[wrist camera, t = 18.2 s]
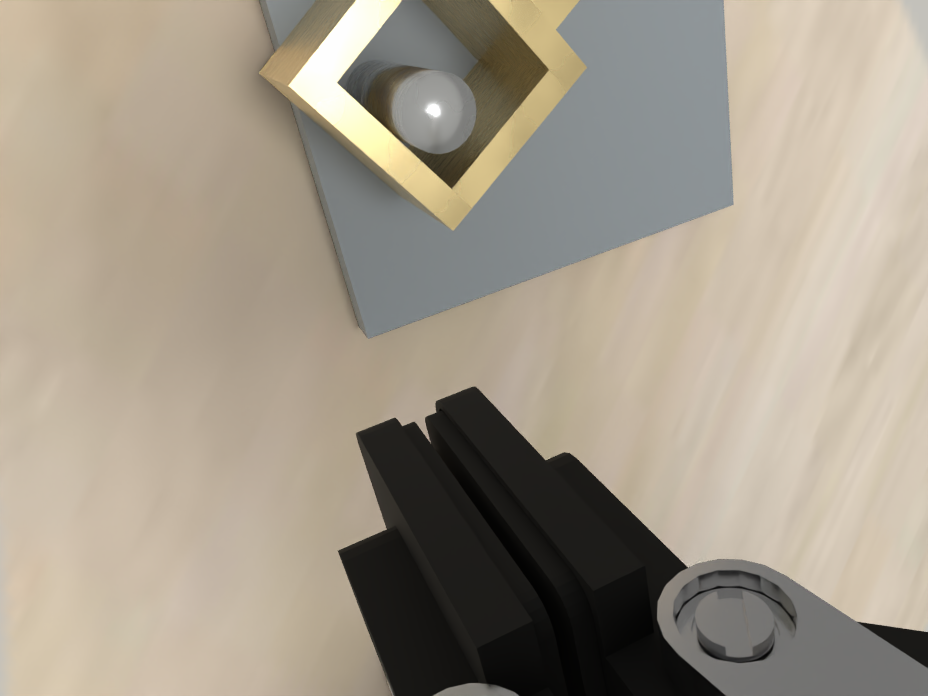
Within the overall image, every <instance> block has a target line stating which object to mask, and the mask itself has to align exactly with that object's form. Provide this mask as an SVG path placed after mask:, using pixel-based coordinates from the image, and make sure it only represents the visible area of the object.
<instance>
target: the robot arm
mask: <svg viewBox="0 0 928 696" xmlns="http://www.w3.org/2000/svg"><path fill="white" fill-rule="evenodd" d="M436 412H437V413H434V414H432V415H429V416H427V417H426V418H425V422H426V427H427V430H428V434H429V438H430V441H431V443H430V442H429V441H428V439H427V438H426V436H425V435H424V434H423V432H422V431H421V429H420V428H419V427H418V425H417V424H416V423H415V422H412V423H410V424H407V425H405V426H401V424H400V423H399V421H398V420H397V419H396V418H393V419H390V420H388V421H385V422H383V423H380V424H378V425H375V426H373V427H370V428H368V429H365V430H363V431H360V432H357V433H356V436H357V440H358V444H359V447H360V450H361V453H362V456H363V459H364V462H365V465H366V468H367V471H368V474H369V477H370V480H371V483H372V486H373V489H374V492H375V495H376V498H377V501H378V504H379V507H380V510H381V513H382V516H383V519H384V522H385V525H386V528H387V530H385V531H382V532H380V533H378V534H375V535H373V536H371V537H369V538H366V539H364V540H362V541H359V542H357V543H355V544H352V545H350V546H348V547H346V548H343V549H341V550H339V551H338V552H339V555H340V558H341V560H342V563H343V566H344V568H345V571H346V574H347V576H348V579H349V582H350V584H351V587H352V590H353V592H354V595H355V597H356V600H357V603H358V605H359V608H360V611H361V613H362V616H363V618H364V621H365V624H366V626H367V629H368V631H369V634H370V637H371V639H372V642H373V644H374V647H375V649H376V652H377V655H378V657H379V660H380V662H381V665H382V667H383V670H384V672H385V675H386V680H387V684H388V686H389V689H390V691H391V693H392V696H928V632H923V631H916V630H909V629H902V628H896V627H889V626H882V625H875V624H868V623H861V622H856V621H854V620H853V619H851V618H850V617H848V616H847V615H845V614H844V613H842V612H841V611H839V610H838V609H836V608H835V607H833V606H831V605H830V604H828V603H827V602H825V601H824V600H822V599H821V598H819V597H818V596H816V595H815V594H813V593H812V592H810V591H808V590H807V589H805V588H804V587H802V586H801V585H799V584H798V583H796V582H795V581H793V580H792V579H790V578H789V577H787V576H785V575H784V574H781V573H779V572H777V571H775V570H773V569H771V568H769V567H767V566H765V565H762V564H758V563H754V562H749V561H745V560H734V559H717V560H712V561H707V562H703V563H698V564H695V565H693V566H691V567H689V568H688V567H687V566H686V565H685V564H684V563H683V562H682V561H681V560H680V559H679V558H678V557H676V556H675V555H674V554H673V553H672V552H671V551H670V550H669V549H668V548H667V547H666V546H665V545H664V544H663V543H662V542H661V541H660V540H659V539H658V538H657V537H656V536H655V535H654V534H653V533H652V532H651V531H650V530H649V529H648V528H647V527H646V526H645V525H644V524H643V523H642V522H641V521H640V520H639V519H638V518H637V517H636V516H635V515H634V514H633V513H632V512H631V511H630V510H629V509H628V508H627V507H626V506H625V505H624V504H622V503H621V502H620V501H619V500H618V499H617V498H616V497H615V496H614V495H613V494H612V493H611V492H610V491H609V490H608V489H607V488H606V487H605V486H604V485H603V484H602V483H601V482H600V481H599V480H598V479H597V478H596V477H595V476H594V475H593V474H592V473H591V472H590V471H589V470H588V469H587V468H586V467H585V466H584V465H583V464H582V463H581V462H580V461H579V460H578V459H577V458H575V457H574V456H573V455H571V454H570V453H565V452H564V453H562V454H559V455H557V456H555V457H553V458H550V459H548V460H545V459H544V458H543V457H542V456H541V455H540V454H539V453H538V452H537V451H536V450H535V449H534V448H533V447H532V445H531V444H530V443H529V442H528V441H527V440H526V439H525V438H524V437H523V436H522V435H521V434H520V433H519V432H518V431H517V430H516V429H515V427H514V426H513V425H512V424H511V423H510V422H509V421H508V420H507V419H506V418H505V417H504V416H503V415H502V414H501V413H500V412H499V411H498V409H497V408H496V407H495V406H494V405H493V404H492V403H491V402H490V401H489V400H488V399H487V398H486V397H485V396H484V395H483V394H482V393H481V391H480V390H479V389H477V388H476V387H471V388H468V389H466V390H463V391H461V392H458V393H456V394H453V395H451V396H448V397H445V398H443V399H440V400H438V401H436Z"/></svg>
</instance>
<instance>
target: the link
mask: <svg viewBox="0 0 928 696" xmlns="http://www.w3.org/2000/svg"><path fill="white" fill-rule="evenodd" d="M401 1H402V0H316V1H315V2H314V4H313V5H312V6H311V7H310V9H309V10H308V11H307V12H306V14H305V15H304V16H303V18H302V19H301V20H300V21H299V23H298V24H297V25H296V26H295V28H294V29H293V30H292V31H291V33H290V34H289V35H288V37H287V38H286V39H285V40H284V42H283V43H282V44H281V45H280V47H279V48H278V49H277V50H276V52H275V53H274V54H273V55H272V57H271V58H270V59H269V61H268V62H267V63H266V64H265V66H264V67H263V68H262V69H261V71H260V72H259V74H260V75H261V76H263V77H264V78H265V79H266V80H267V81H268V82H269V83H271V84H272V85H273V86H274V87H275V88H276V89H277V90H279V91H280V92H281V93H282V94H283V95H284V96H285V97H287V98H288V99H289V100H290V101H291V102H292V103H294V104H295V105H296V106H297V107H298V108H299V109H300V110H302V111H303V112H304V113H305V114H306V115H307V116H308V117H310V118H311V119H312V120H313V121H314V122H315V123H316V124H318V125H319V126H320V127H321V128H322V129H323V130H325V131H326V132H327V133H328V134H329V135H330V136H331V137H333V138H334V139H335V140H336V141H337V142H338V143H339V144H341V145H342V146H343V147H344V148H345V149H346V150H347V151H349V152H350V153H351V154H352V155H353V156H354V157H356V158H357V159H358V160H359V161H360V162H361V163H362V164H364V165H365V166H366V167H367V168H368V169H369V170H370V171H372V172H373V173H374V174H375V175H376V176H377V177H378V178H380V179H381V180H382V181H383V182H384V183H385V184H387V185H388V186H389V187H390V188H391V189H392V190H393V191H395V192H396V193H397V194H398V195H399V196H400V197H402V198H404V199H405V200H407V201H408V202H410V203H411V204H413V205H414V206H416V207H417V208H419V209H420V210H422V211H423V212H425V213H426V214H428V215H429V216H431V217H433V218H434V219H436V220H437V221H439V222H440V223H442V224H443V225H445V226H446V227H448V228H449V229H451V230H452V231H454V230H455V228H456V227H457V226H458V225H459V224H460V222H461V221H462V220H463V219H464V217H465V216H466V215H467V214H468V213H469V211H470V210H471V209H472V208H473V206H474V205H475V204H476V203H477V202H478V200H479V199H480V198H481V197H482V195H483V194H484V193H485V192H486V191H487V189H488V188H489V187H490V186H491V184H492V183H493V182H494V181H495V180H496V178H497V177H498V176H499V175H500V173H501V172H502V171H503V170H504V169H505V167H506V166H507V165H508V164H509V162H510V161H511V160H512V159H513V158H514V156H515V155H516V154H517V153H518V151H519V150H520V149H521V148H522V147H523V145H524V144H525V143H526V142H527V140H528V139H529V138H530V137H531V136H532V134H533V133H534V132H535V131H536V129H537V128H538V127H539V126H540V125H541V123H542V122H543V121H544V120H545V118H546V117H547V116H548V115H549V114H550V112H551V111H552V110H553V109H554V107H555V106H556V105H557V104H558V103H559V101H560V100H561V99H562V98H563V96H564V95H565V94H566V93H567V92H568V90H569V89H570V88H571V87H572V85H573V84H574V83H575V82H576V81H577V79H578V78H579V77H580V76H581V74H582V73H583V72H584V71H585V70H586V68H587V67H586V65H585V64H584V63H583V62H582V61H581V59H580V58H579V57H578V56H577V55H576V53H575V52H574V51H573V50H572V49H571V47H570V46H569V45H568V44H567V43H566V41H565V40H564V39H563V38H562V37H561V35H560V34H559V33H558V32H557V31H556V29H557V28H558V26H559V25H560V24H561V23H562V21H563V20H564V19H565V18H566V17H567V15H568V14H569V13H570V12H571V10H572V9H573V8H574V7H575V5H576V4H577V3H578V2H579V1H580V0H422V1H423V2H424V3H425V4H426V5H427V6H428V8H429V9H430V10H431V11H432V12H433V13H434V14H435V15H436V16H437V17H438V18H439V19H440V20H441V22H442V23H443V24H444V25H445V26H446V27H447V28H448V29H449V30H450V31H451V32H452V33H453V34H454V36H455V37H456V38H457V39H458V40H459V41H460V42H461V43H462V44H463V45H464V46H465V47H466V48H467V49H468V51H469V52H470V53H471V54H472V55H473V56H474V57H475V58H476V59H477V60H478V62H477V63H476V64H475V65H474V67H473V68H472V69H471V70H470V72H469V73H468V74H467V75H466V77H465V78H464V79H463V81H464V82H465V83H466V84H467V85H468V87H469V88H470V90H471V91H472V93H473V96H474V99H475V103H476V120H475V125H474V127H473V130H472V132H471V134H470V136H469V137H468V139H467V140H466V141H465V142H464V143H463V144H462V145H461V146H460V147H458V148H457V149H455V150H453V151H451V152H448V153H444V154H433V153H428V152H426V151H423V150H421V149H419V148H417V147H414V146H412V145H410V146H409V147H408V148H407V147H405V146H404V145H403V144H402V143H401V142H400V141H399V140H398V139H397V138H396V137H395V136H394V135H392V134H391V133H390V132H389V131H388V130H387V129H386V128H385V127H384V126H383V125H382V124H381V123H379V122H378V121H377V120H376V119H375V118H374V117H373V116H372V115H371V114H370V113H369V112H368V111H366V110H365V109H364V108H363V107H362V106H361V105H360V104H359V103H358V102H357V101H356V100H355V99H353V98H352V97H351V96H350V95H349V94H348V93H347V92H346V91H345V90H344V89H343V88H342V87H340V86H339V85H338V84H337V81H338V80H339V79H340V78H341V76H342V75H343V74H344V73H345V71H346V70H347V69H348V68H349V66H350V65H351V64H352V63H353V61H354V60H355V59H356V58H357V56H358V55H359V54H360V53H361V51H362V50H363V49H364V48H365V46H366V45H367V44H368V43H369V41H370V40H371V39H372V38H373V36H374V35H375V34H376V33H377V31H378V30H379V29H380V28H381V26H382V25H383V24H384V23H385V21H386V20H387V19H388V18H389V16H390V15H391V14H392V13H393V11H394V10H395V9H396V7H397V6H398V5H399V4H400V2H401Z"/></svg>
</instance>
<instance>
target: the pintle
mask: <svg viewBox="0 0 928 696" xmlns="http://www.w3.org/2000/svg"><path fill="white" fill-rule="evenodd" d="M345 91H346V92H347V93H348V94H349V95H350V96H351V97H352V98H353V99H355V100H356V101H357V102H358V103H359V104H360V105H361V106H362V107H363V108H364V109H365V110H366V111H368V112H369V113H370V114H371V115H372V116H373V117H374V118H375V119H376V120H377V121H378V122H379V123H381V124H382V125H383V126H384V127H385V128H386V129H387V130H388V131H389V132H390V133H391V134H392V135H394V136H395V137H396V138H397V139H399V140H401V141H403V142H405V143H408V144H410V145H412V146H414V147H417V148H419V149H421V150H423V151H426V152H428V153H433V154H444V153H448V152H451V151H453V150H455V149H457V148H458V147H460V146H461V145H462V144H463V143H464V142H465V141H466V140H467V139H468V137H469V136H470V134H471V132H472V130H473V127H474V125H475V120H476V103H475V99H474V96H473V93H472V91H471V90H470V88H469V87H468V85H467V84H466V83H465V82H464V81H463V80H462V79H461V78H459V77H458V76H456V75H454V74H452V73H448V72H443V71H438V70H432V69H426V68H420V67H414V66H408V65H402V64H397V63H391V62H385V61H378V60H372V61H367V62H364V63H362V64H361V65H359V66H358V67H356V68H355V69H354V70H353V72H352V73H351V75H350V76H349V78H348V80H347V84H346V89H345Z"/></svg>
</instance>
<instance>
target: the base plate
mask: <svg viewBox="0 0 928 696" xmlns="http://www.w3.org/2000/svg"><path fill="white" fill-rule="evenodd" d="M259 1H260V5H261V8H262V11H263V14H264V18H265V21H266V24H267V27H268V31H269V34H270V37H271V41H272V44H273V47H274V50H275V52H276V50H277V49H278V48H279V47H280V45H281V44H282V43H283V42H284V40H285V39H286V38H287V37H288V35H289V34H290V33H291V31H292V30H293V29H294V28H295V26H296V25H297V24H298V23H299V21H300V20H301V19H302V18H303V16H304V15H305V14H306V12H307V11H308V10H309V9H310V7H311V6H312V5H313V4H314V2H315V1H316V0H259ZM556 31H557V32H558V33H559V34H560V35H561V37H562V38H563V39H564V40H565V41H566V43H567V44H568V45H569V46H570V47H571V49H572V50H573V51H574V52H575V53H576V55H577V56H578V57H579V58H580V59H581V61H582V62H583V63H584V64H585V65H586V67H587V68H586V70H585V71H584V72H583V73H582V74H581V76H580V77H579V78H578V79H577V81H576V82H575V83H574V84H573V85H572V87H571V88H570V89H569V90H568V92H567V93H566V94H565V95H564V96H563V98H562V99H561V100H560V101H559V103H558V104H557V105H556V106H555V107H554V109H553V110H552V111H551V112H550V114H549V115H548V116H547V117H546V118H545V120H544V121H543V122H542V123H541V125H540V126H539V127H538V128H537V129H536V131H535V132H534V133H533V134H532V136H531V137H530V138H529V139H528V140H527V142H526V143H525V144H524V145H523V147H522V148H521V149H520V150H519V151H518V153H517V154H516V155H515V156H514V158H513V159H512V160H511V161H510V162H509V164H508V165H507V166H506V167H505V169H504V170H503V171H502V172H501V173H500V175H499V176H498V177H497V178H496V180H495V181H494V182H493V183H492V184H491V186H490V187H489V188H488V189H487V191H486V192H485V193H484V194H483V195H482V197H481V198H480V199H479V200H478V202H477V203H476V204H475V205H474V206H473V208H472V209H471V210H470V211H469V213H468V214H467V215H466V216H465V217H464V219H463V220H462V221H461V222H460V224H459V225H458V226H457V227H456V228H455V230H454V231H452V230H451V229H449V228H448V227H446V226H445V225H443V224H442V223H440V222H439V221H437V220H436V219H434V218H433V217H431V216H429V215H428V214H426V213H425V212H423V211H422V210H420V209H419V208H417V207H416V206H414V205H413V204H411V203H410V202H408V201H407V200H405V199H404V198H402V197H400V196H399V195H398V194H397V193H396V192H395V191H393V190H392V189H391V188H390V187H389V186H388V185H387V184H385V183H384V182H383V181H382V180H381V179H380V178H378V177H377V176H376V175H375V174H374V173H373V172H372V171H370V170H369V169H368V168H367V167H366V166H365V165H364V164H362V163H361V162H360V161H359V160H358V159H357V158H356V157H354V156H353V155H352V154H351V153H350V152H349V151H347V150H346V149H345V148H344V147H343V146H342V145H341V144H339V143H338V142H337V141H336V140H335V139H334V138H333V137H331V136H330V135H329V134H328V133H327V132H326V131H325V130H323V129H322V128H321V127H320V126H319V125H318V124H316V123H315V122H314V121H313V120H312V119H311V118H310V117H308V116H307V115H306V114H305V113H304V112H303V111H302V110H300V109H299V108H298V107H297V106H296V105H295V104H294V103H292V102H291V101H290V103H291V106H292V109H293V112H294V116H295V119H296V122H297V125H298V129H299V132H300V135H301V138H302V142H303V145H304V148H305V152H306V155H307V158H308V161H309V165H310V168H311V171H312V174H313V178H314V181H315V184H316V187H317V191H318V194H319V197H320V201H321V204H322V207H323V210H324V214H325V217H326V220H327V223H328V227H329V230H330V233H331V236H332V240H333V243H334V246H335V249H336V253H337V256H338V259H339V263H340V266H341V269H342V272H343V276H344V279H345V282H346V285H347V289H348V292H349V295H350V298H351V302H352V305H353V308H354V312H355V315H356V318H357V321H358V325H359V327H360V329H361V330H362V331H363V333H364V334H365V335H366V337H367V338H368V339H369V338H372V337H374V336H377V335H380V334H383V333H385V332H388V331H391V330H394V329H396V328H399V327H402V326H404V325H407V324H410V323H413V322H415V321H418V320H421V319H423V318H426V317H429V316H432V315H434V314H437V313H440V312H443V311H445V310H448V309H451V308H453V307H456V306H459V305H462V304H464V303H467V302H470V301H472V300H475V299H478V298H481V297H483V296H486V295H489V294H492V293H494V292H497V291H500V290H502V289H505V288H508V287H511V286H513V285H516V284H519V283H521V282H524V281H527V280H530V279H532V278H535V277H538V276H541V275H543V274H546V273H549V272H551V271H554V270H557V269H560V268H562V267H565V266H568V265H570V264H573V263H576V262H579V261H581V260H584V259H587V258H590V257H592V256H595V255H598V254H600V253H603V252H606V251H609V250H611V249H614V248H617V247H619V246H622V245H625V244H628V243H630V242H633V241H636V240H639V239H641V238H644V237H647V236H649V235H652V234H655V233H658V232H660V231H663V230H666V229H668V228H671V227H674V226H677V225H679V224H682V223H685V222H688V221H690V220H693V219H696V218H698V217H701V216H704V215H707V214H709V213H712V212H715V211H717V210H720V209H723V208H726V207H728V206H731V205H734V204H733V184H732V164H731V143H730V123H729V103H728V83H727V62H726V42H725V22H724V2H723V0H580V1H579V2H578V3H577V4H576V5H575V7H574V8H573V9H572V10H571V12H570V13H569V14H568V15H567V17H566V18H565V19H564V20H563V21H562V23H561V24H560V25H559V26H558V28H557V29H556ZM372 60H378V61H385V62H391V63H397V64H402V65H408V66H414V67H420V68H426V69H432V70H438V71H443V72H448V73H452V74H454V75H456V76H458V77H459V78H461V79H462V80H463V79H464V78H465V77H466V75H467V74H468V73H469V72H470V70H471V69H472V68H473V67H474V65H475V64H476V63H477V62H478V60H477V59H476V58H475V57H474V56H473V55H472V54H471V53H470V52H469V51H468V49H467V48H466V47H465V46H464V45H463V44H462V43H461V42H460V41H459V40H458V39H457V38H456V37H455V36H454V34H453V33H452V32H451V31H450V30H449V29H448V28H447V27H446V26H445V25H444V24H443V23H442V22H441V20H440V19H439V18H438V17H437V16H436V15H435V14H434V13H433V12H432V11H431V10H430V9H429V8H428V6H427V5H426V4H425V3H424V2H423V1H422V0H402V1H401V2H400V4H399V5H398V6H397V7H396V9H395V10H394V11H393V13H392V14H391V15H390V16H389V18H388V19H387V20H386V21H385V23H384V24H383V25H382V26H381V28H380V29H379V30H378V31H377V33H376V34H375V35H374V36H373V38H372V39H371V40H370V41H369V43H368V44H367V45H366V46H365V48H364V49H363V50H362V51H361V53H360V54H359V55H358V56H357V58H356V59H355V60H354V61H353V63H352V64H351V65H350V66H349V68H348V69H347V70H346V71H345V73H344V74H343V75H342V76H341V78H340V79H339V80H338V81H337V84H338V85H339V86H340V87H342V88H343V89H344V90H345V89H346V84H347V80H348V78H349V76H350V75H351V73H352V72H353V70H354V69H355V68H356V67H358V66H359V65H361V64H362V63H364V62H367V61H372ZM398 140H399V139H398ZM399 141H400V142H401V143H402V144H403V145H404V146H405V147H407V148H408V147H409V146H410V144H408V143H405V142H403V141H401V140H399Z"/></svg>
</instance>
